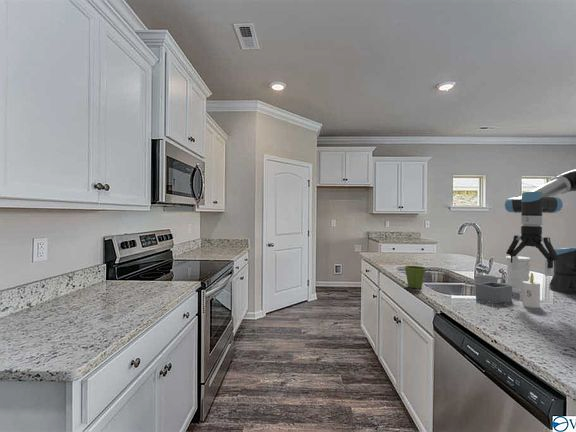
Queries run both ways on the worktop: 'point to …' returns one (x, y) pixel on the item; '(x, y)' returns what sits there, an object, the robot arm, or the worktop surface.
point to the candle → (531, 293)
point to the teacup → (487, 279)
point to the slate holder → (494, 292)
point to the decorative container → (517, 273)
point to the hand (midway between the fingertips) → (530, 272)
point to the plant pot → (415, 276)
